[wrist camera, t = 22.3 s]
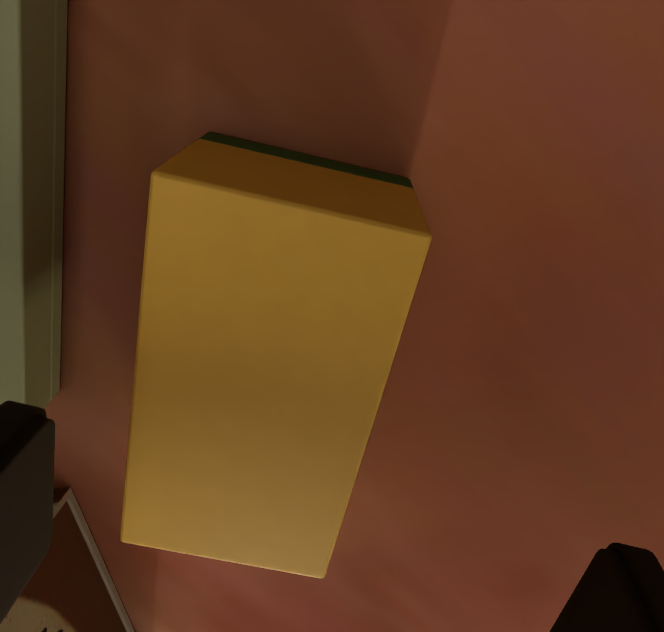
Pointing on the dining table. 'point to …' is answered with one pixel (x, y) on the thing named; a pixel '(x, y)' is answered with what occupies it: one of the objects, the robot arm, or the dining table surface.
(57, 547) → the food container
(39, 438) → the robot arm
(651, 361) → the dining table surface
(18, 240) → the tray
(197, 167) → the sponge
